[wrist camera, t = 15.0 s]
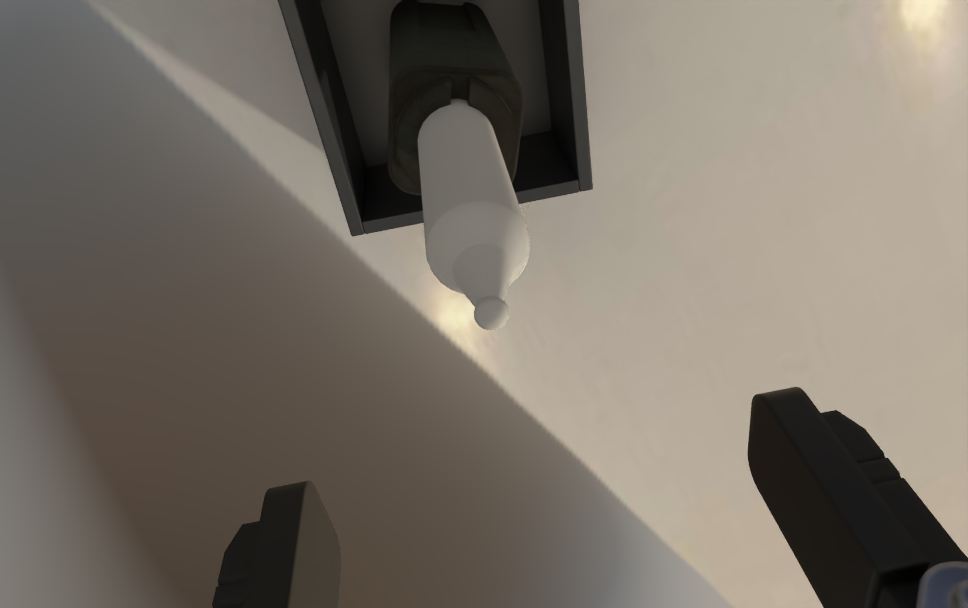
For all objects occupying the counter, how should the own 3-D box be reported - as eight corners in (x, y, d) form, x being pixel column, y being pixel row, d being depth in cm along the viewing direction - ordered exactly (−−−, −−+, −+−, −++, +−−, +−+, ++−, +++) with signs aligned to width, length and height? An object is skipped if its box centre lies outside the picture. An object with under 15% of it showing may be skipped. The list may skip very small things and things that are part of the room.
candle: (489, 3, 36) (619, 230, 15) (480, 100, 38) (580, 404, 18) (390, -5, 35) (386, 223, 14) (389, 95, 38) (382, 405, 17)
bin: (358, 174, 41) (351, 237, 35) (292, -55, 34) (268, -30, 27) (562, 134, 41) (593, 189, 35) (538, -104, 34) (571, -90, 27)
